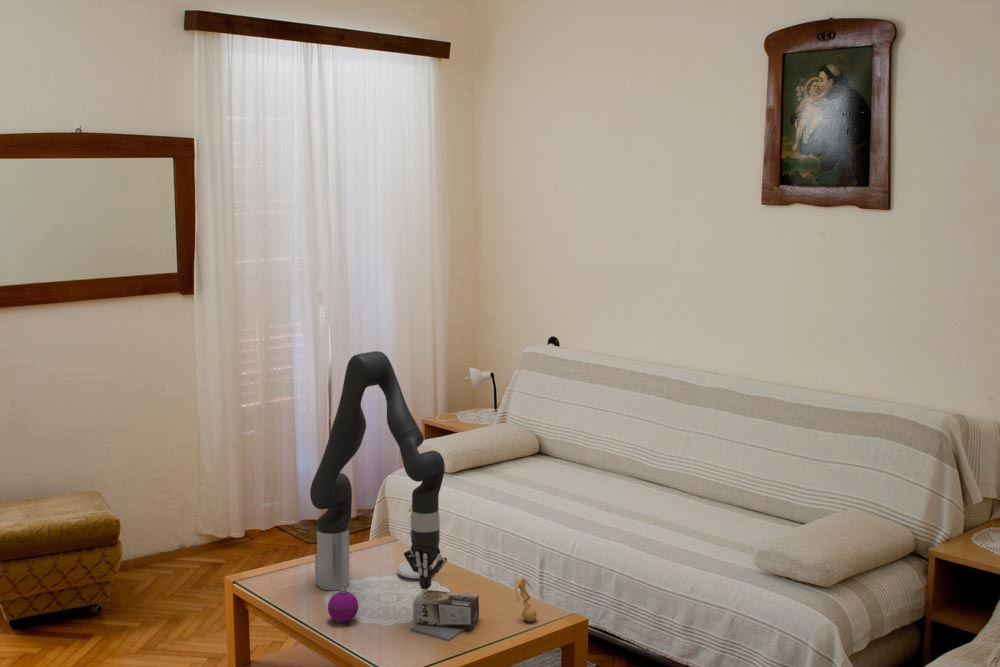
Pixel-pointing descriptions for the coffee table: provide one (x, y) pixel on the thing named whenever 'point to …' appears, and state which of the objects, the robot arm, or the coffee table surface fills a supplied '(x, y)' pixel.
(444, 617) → the coffee box
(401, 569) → the flower in vase
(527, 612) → the figurine
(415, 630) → the slate mat
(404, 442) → the robot arm
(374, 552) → the coffee table surface
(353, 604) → the christmas ornament
